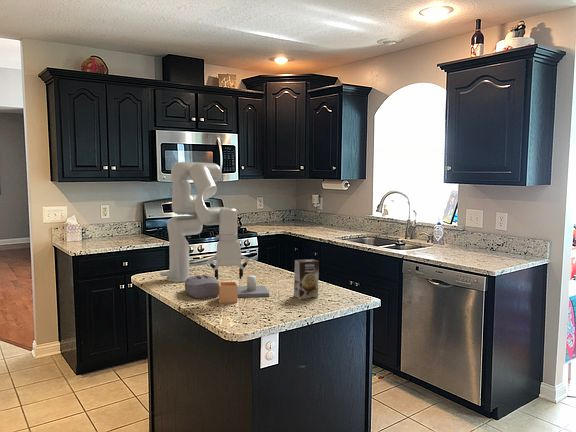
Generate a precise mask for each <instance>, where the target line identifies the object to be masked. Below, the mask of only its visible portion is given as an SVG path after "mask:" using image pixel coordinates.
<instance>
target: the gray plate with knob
mask: <svg viewBox="0 0 576 432" xmlns="http://www.w3.org/2000/svg"><path fill="white" fill-rule="evenodd" d="M246 280H247V281H246V286H245V285H244V286H243V285H241V286H238V298H261V297H263V298H265V297H266V298H267V297H268V298H269V297H270V291H269V289H268V288H267V286H266V285H257V276H256V275H247V276H246Z"/></svg>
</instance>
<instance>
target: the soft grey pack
mask: <svg viewBox="0 0 576 432" xmlns="http://www.w3.org/2000/svg"><path fill="white" fill-rule="evenodd" d="M191 276H192V277H189V278H187V279H186V281H185V282H184V290H185V292H186V293H187V295H189V296H190V297H192V298H194V299H200V300H202V299H210V298H211V299H212V298H216V297H219V282H220V281H218V280H216V277H215V276H214V277H213V276H210V275H207V274H199V275H197V274H196V275H191Z"/></svg>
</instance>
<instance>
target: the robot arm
mask: <svg viewBox="0 0 576 432" xmlns="http://www.w3.org/2000/svg"><path fill="white" fill-rule="evenodd" d="M170 175H171V181H172V197H171V200H172V201H171V210H172V212H173V214H176V215H180V216H172V217H171V218H169V219H168V220H167V223H166V224H167V225H166V227H167V228H166V229H167V233H168V241H169V245H168V246H169V251H168V252H169V270H166V271H160V274H159V275H160V276H161V277H166V281H167V282H171V283H185V281H186V279H187V278H189V277H192V276H193V275H190V243H189V242H188V240H187V239H186V236H192V235H194V236H195V235H199V234H201V233H202V232H203V227H204V226H217V225H218V226H219V227H218V231H219V232H218V233H219V234H218V235H215V239H217V240H219V241H217V244H216V254H215V255H213V256H211V257H210V258H208V259H207V263H208V264H209V265H210V267H211V268H212V269H213V270H214V278H215V279H216V280H217V281H218V280H219V268H220V267H229V266H232V267H236V266H238V275H239V277H238V278H239V280H242V277H243V276H244V269H245V268H246V267H247V266H248V263H249V262H250V258H249V257H248V256H245V255H243V254H242V251H241V242H240V241H239V240H238V238H239V237H238V210H237V209H236V208H229V207H227V206H216V207H215V206H213V207H212V206H211V207H209V206H208V207H207V205H206V204H205V201H206V200H208V199H210V198H212V197H213V196H215V194H216V193H217V191H218V188H217V185H216V182H218V181H220V180H221V178H222V170H221V168H220V166H219V165H218V164H217V163H214V162H197V161H196V162H195V161H194V162H193V161H179V162H176V163H174V164H173V165H172V166H171V171H170ZM190 181H192V182H193V185H194V186H195V189H196V191H197V193H198V194H191V193H192V192H191V190H192V185H191V184H190ZM203 225H204V226H203ZM242 259H243V260H245V261H244V262H243V263H242ZM214 260H215V262H216V264H214V263H213V261H214Z"/></svg>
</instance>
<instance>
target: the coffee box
mask: <svg viewBox="0 0 576 432" xmlns="http://www.w3.org/2000/svg"><path fill="white" fill-rule="evenodd" d="M319 271H320V261H319V260H316V259H313V258H311V259H310V258H308V259H295V260H294V279H293V281H294V282H293V283H294V284H293V287H294V288H293V296H294V297H295V298H298V299H299V300H302V299H303V300H305V299H312V298H311V297H316V298H319V277H320V275H319V274H320V272H319ZM304 298H305V299H304Z"/></svg>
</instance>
